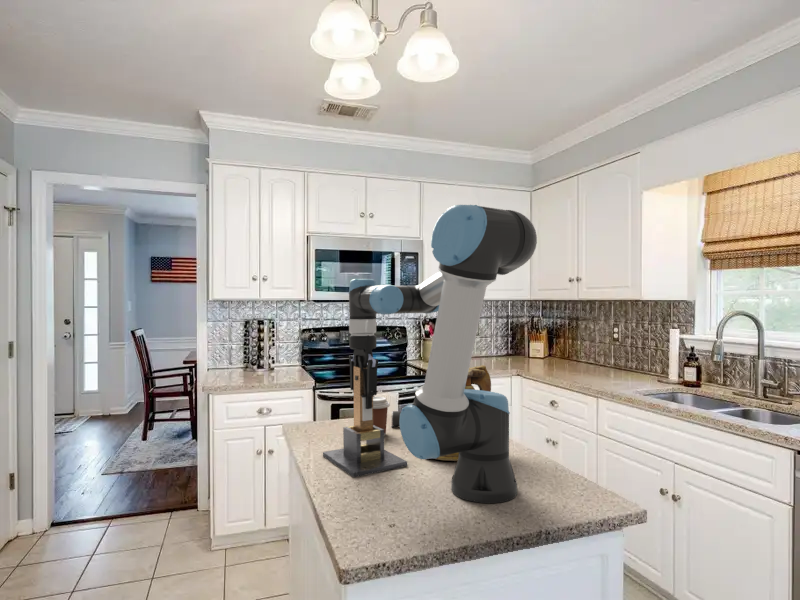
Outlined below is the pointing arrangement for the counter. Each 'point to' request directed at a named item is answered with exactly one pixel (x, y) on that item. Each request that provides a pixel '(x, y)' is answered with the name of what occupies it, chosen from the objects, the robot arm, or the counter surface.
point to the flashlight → (395, 418)
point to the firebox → (363, 453)
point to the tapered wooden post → (360, 403)
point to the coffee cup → (380, 412)
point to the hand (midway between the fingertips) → (363, 418)
